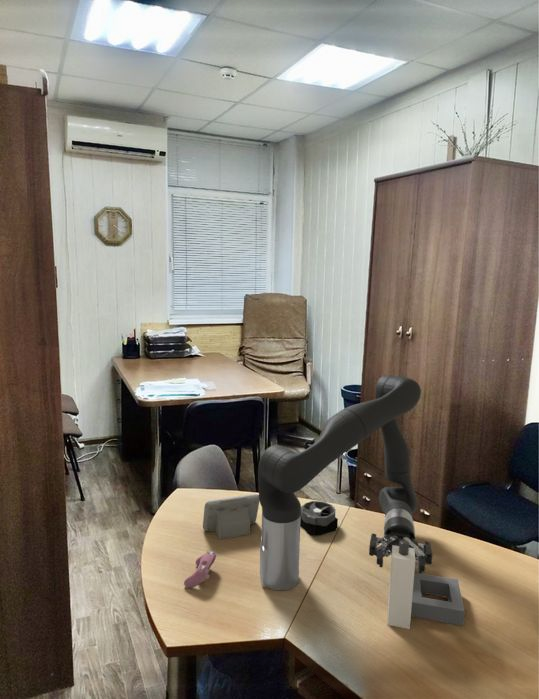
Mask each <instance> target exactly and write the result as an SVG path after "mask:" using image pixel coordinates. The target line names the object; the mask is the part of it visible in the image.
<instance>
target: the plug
mask: <svg viewBox="0 0 539 699" xmlns="http://www.w3.org/2000/svg"><path fill="white" fill-rule="evenodd" d="M415 570H416V561H415V551H414V548H409V542H408V541H406V540H400V541H399V546H394V545H392V554H391V559H390V572H389V573H390V574H389V585H388V586H389V588H388V602H387V625H388V626H390V627H397V628H402V629H408V630H410V629H411V618H412V617H411V608H412V595H413V583H414V573H415Z"/></svg>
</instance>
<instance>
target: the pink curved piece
mask: <svg viewBox="0 0 539 699" xmlns="http://www.w3.org/2000/svg"><path fill="white" fill-rule="evenodd" d="M217 556H218V553H216V552H214V551H210V550H208V551H206V552H205V553H204V554H202V555H201V556H199V557H198V558H196V560H195V565H196V566H197V568H196V570H195V572H194V573H192V574H191V575H190V576H188V577H187V578H185V580H184V581H183V585H184V587H185V588H187V589H191V588H195V587H197V586H199V585H200V584H202V583H203V582H204V580H208V579H209V578H210V574H209V573H210V571H211V570H210V568H211V567H212V565H213V564H214V562H215V560H216V557H217Z"/></svg>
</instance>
